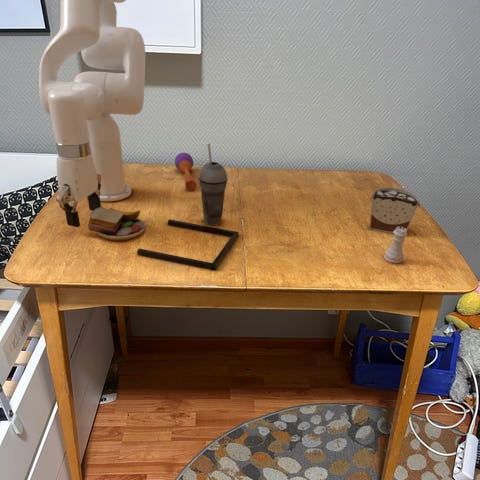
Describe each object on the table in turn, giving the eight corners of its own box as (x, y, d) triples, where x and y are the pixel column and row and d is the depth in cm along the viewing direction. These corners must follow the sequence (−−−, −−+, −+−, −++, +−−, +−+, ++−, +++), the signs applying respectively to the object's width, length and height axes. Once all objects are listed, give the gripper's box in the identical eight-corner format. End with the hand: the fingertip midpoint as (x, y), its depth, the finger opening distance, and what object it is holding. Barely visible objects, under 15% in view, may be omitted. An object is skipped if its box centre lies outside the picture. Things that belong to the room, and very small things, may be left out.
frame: (137, 254, 108) (137, 250, 107) (169, 223, 122) (169, 219, 121) (214, 270, 104) (215, 265, 103) (238, 236, 118) (239, 231, 117)
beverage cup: (222, 229, 121) (224, 150, 109) (195, 225, 122) (194, 147, 110) (229, 217, 126) (231, 141, 114) (202, 214, 127) (202, 138, 115)
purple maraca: (179, 178, 137) (172, 151, 151) (183, 196, 141) (176, 168, 156) (198, 174, 137) (190, 147, 152) (202, 192, 141) (193, 165, 156)
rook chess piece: (380, 255, 114) (388, 224, 109) (398, 255, 114) (407, 224, 109) (386, 264, 110) (395, 233, 105) (405, 264, 110) (414, 233, 106)
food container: (412, 227, 127) (422, 191, 121) (410, 236, 123) (421, 200, 116) (366, 218, 130) (374, 183, 124) (363, 227, 125) (371, 191, 119)
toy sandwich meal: (133, 245, 111) (131, 227, 109) (81, 237, 113) (78, 219, 111) (153, 223, 121) (152, 206, 118) (105, 216, 123) (102, 199, 120)
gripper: (81, 137, 115) (90, 203, 125) (36, 157, 101) (51, 229, 112) (108, 141, 113) (116, 208, 123) (66, 162, 100) (78, 235, 110)
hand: (85, 218), depth 118 cm, fingers open, 9 cm apart
